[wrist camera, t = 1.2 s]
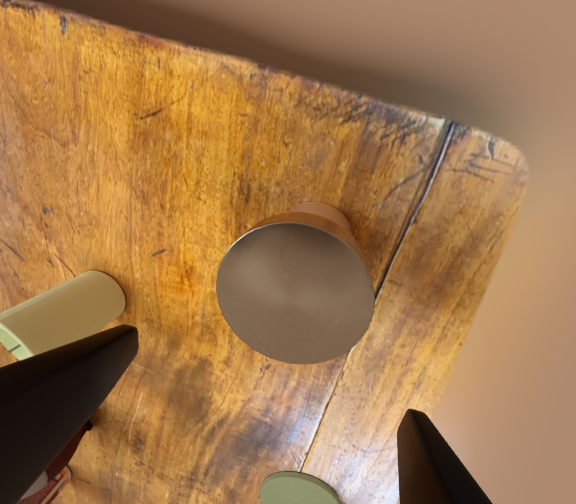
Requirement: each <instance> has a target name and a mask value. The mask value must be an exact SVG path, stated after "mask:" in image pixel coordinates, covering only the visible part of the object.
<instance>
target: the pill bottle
mask: <svg viewBox="0 0 576 504" xmlns="http://www.w3.org/2000/svg"><path fill="white" fill-rule="evenodd" d="M70 479H71V472H70V470H69V468H68V467H67V466H65V468H64V469H63V470H62V471H61V472H60V473H59V474H58V475H57V476H56V477H55V478H54V479H52V480H51V481H50V482H49V483H47V485H46V486H45V487H43V488H42V489H41V490H39V491H38V492H36V493H34V494H32V495H30V496H28V497H26V498H24V499H20V500H19V501H18V503H17V504H50V503H51V502H52V501H53V500H54V498H55V497H56V496H57V495H58V494H59V492H60V491H61V490H62V489H63V487H64V486H65V485H66V484H67V483H68V481H69V480H70Z"/></svg>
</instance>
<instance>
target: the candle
mask: <svg viewBox="0 0 576 504" xmlns="http://www.w3.org/2000/svg"><path fill="white" fill-rule="evenodd" d="M125 302H126V301H125V297H124V293H123V291H122V289H121V287H120V286H119V285H118V283H117V282H116V281H115V280H114V279H112V278H111V277H110V276H108V275H106V274H105V273H102V272H99V271H87V272H85V273H83V274H80V275H78V276H76V277H74V278H72V279H70V280H68V281H66V282H64V283H62V284H60V285H58V286H55V287H53V288H51V289H49V290H47V291H45V292H43V293H41V294H39V295H37V296H35V297H33V298H30V299H28V300H26V301H24V302H22V303H20V304H18V305H16V306H14V307H12V308H10V309H7V310H5V311H3V312H1V313H0V342H1V343H2V344H3V345H4V346H5V347H6V348H7V349H8V350H9V352H10V353H12V354H13V355H14V356H15V357H16V358H17V359H18V360H23V359H26V358H29V357H32V356H35V355H37V354H40V353H43V352H46V351H49V350H52V349H54V348H57V347H60V346H63V345H66V344H68V343H71V342H74V341H77V340H80V339H83V338H85V337H88V336H91V335H94V334H96V333H97V332H98V331H100V330H101V329H102V328H104V327H105V326H106V325H108V324H109V323H110V322H112V321H113V320H114V319H116V318H117V317H118V316H120V315H121V314H122V313H123V312H124V309H125Z"/></svg>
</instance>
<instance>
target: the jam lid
mask: <svg viewBox="0 0 576 504" xmlns="http://www.w3.org/2000/svg"><path fill="white" fill-rule="evenodd" d="M216 290H217V298H218V302H219V306H220V309H221V311H222V314H223V316H224V318H225V320H226V321H227V323H228V325H229V326H230V327H231V329H232V330H233V331H234V333H235V334H236V335H237V336H238V337H239V338H240V339H241V340H242V341H243V342H244V343H246V344H247V345H248V346H250V347H251V348H252V349H254V350H256V351H257V352H259V353H261V354H263V355H265V356H267V357H269V358H272V359H275V360H278V361H282V362H286V363H292V364H316V363H321V362H325V361H329V360H332V359H334V358H336V357H339V356H341V355H343V354H344V353H346V352H347V351H349V350H350V349H351V348H353V347H354V346H355V345H356V344H357V343H358V342H359V341H360V340H361V338H362V337H363V336H364V334H365V333H366V331H367V330H368V327H369V325H370V323H371V321H372V317H373V313H374V306H375V293H374V287H373V282H372V277H371V271H370V266H369V263H368V260H367V258H366V255H365V253H364V251H363V250H362V248H361V246H360V245H359V244H358V242H357V241H356V240H355V238H354V237H353V236H352V235H351V234H350V233H349V232H347V231H346V230H345V229H344V228H342V227H341V226H340V225H338V224H336V223H335V222H333V221H331V220H329V219H327V218H324V217H322V216H318V215H315V214H310V213H304V212H288V213H281V214H277V215H273V216H271V217H268V218H266V219H264V220H262V221H260V222H258V223H257V224H255V225H254V226H253V227H252V228H250V229H249V230H248V231H247V232H246V233H244V234H243V235H242V236H241V237H240V238H238V239H237V240H236V241H235V242H234V243H233V244H232V245H231V246H230V248H229V249H228V251H227V252H226V253H225V255H224V257H223V259H222V261H221V263H220V266H219V270H218V274H217V282H216Z"/></svg>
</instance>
